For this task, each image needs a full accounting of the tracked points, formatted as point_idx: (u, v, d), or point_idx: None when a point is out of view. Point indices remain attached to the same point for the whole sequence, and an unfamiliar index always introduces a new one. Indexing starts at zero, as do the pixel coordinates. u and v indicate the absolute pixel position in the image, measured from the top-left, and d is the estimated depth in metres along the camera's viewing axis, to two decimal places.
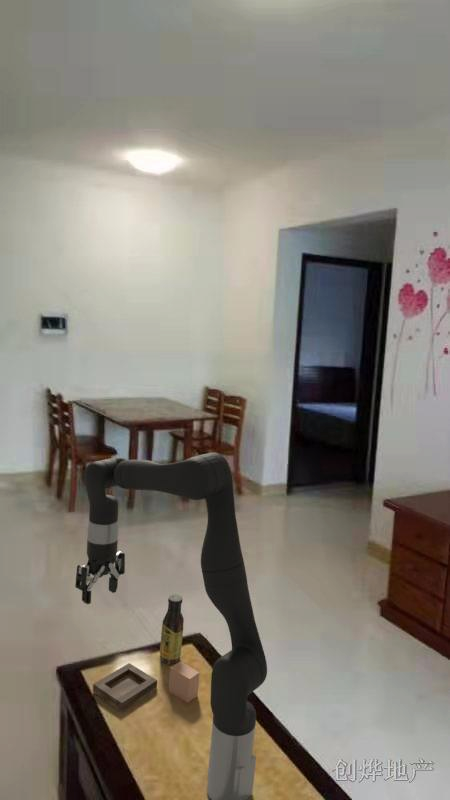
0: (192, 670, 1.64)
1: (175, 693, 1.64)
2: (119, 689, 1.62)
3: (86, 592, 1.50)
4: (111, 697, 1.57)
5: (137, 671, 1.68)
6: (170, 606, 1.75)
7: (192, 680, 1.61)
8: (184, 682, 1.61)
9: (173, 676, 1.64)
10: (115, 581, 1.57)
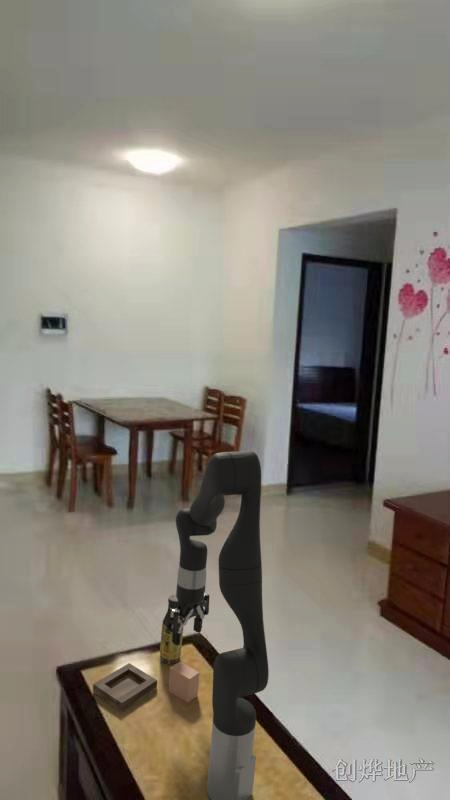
0: (192, 670, 1.64)
1: (175, 693, 1.64)
2: (119, 689, 1.62)
3: (176, 634, 1.57)
4: (111, 697, 1.57)
5: (137, 671, 1.68)
6: (170, 606, 1.75)
7: (192, 680, 1.61)
8: (184, 682, 1.61)
9: (173, 676, 1.64)
10: (200, 622, 1.64)
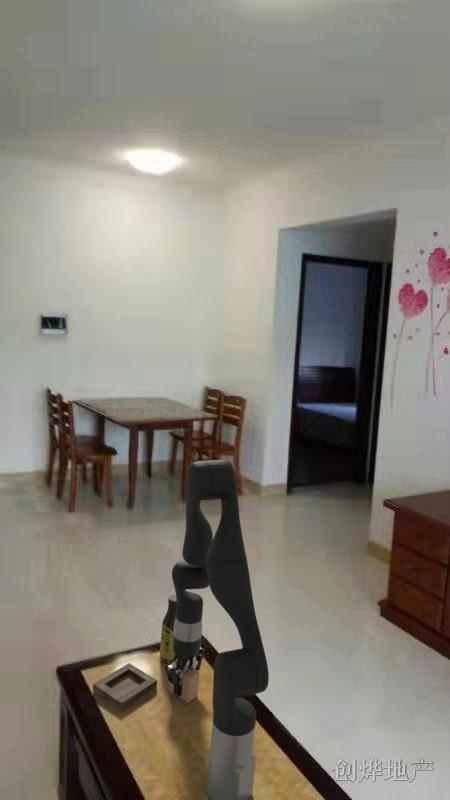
0: (192, 670, 1.64)
1: None
2: (119, 689, 1.62)
3: (178, 686, 1.61)
4: (111, 697, 1.57)
5: (137, 671, 1.68)
6: (170, 606, 1.75)
7: (192, 680, 1.61)
8: (184, 682, 1.61)
9: None
10: None
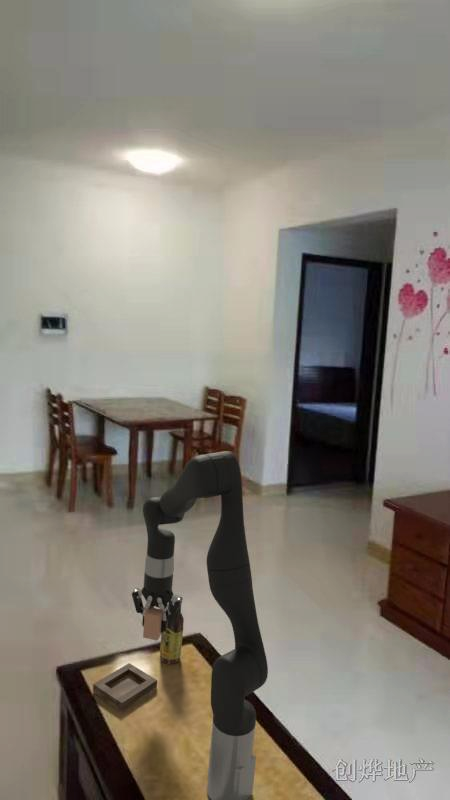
0: (159, 611, 1.60)
1: None
2: (119, 689, 1.62)
3: (143, 616, 1.62)
4: (111, 697, 1.57)
5: (137, 671, 1.68)
6: (170, 606, 1.75)
7: (148, 616, 1.58)
8: None
9: None
10: (161, 622, 1.60)
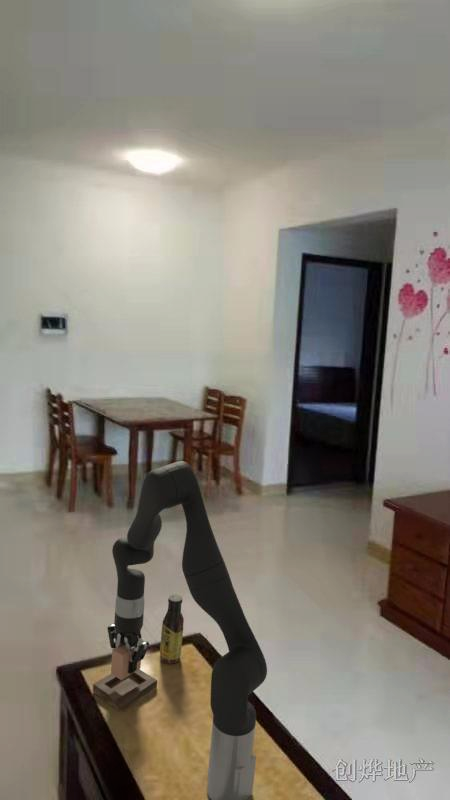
0: (126, 651, 1.60)
1: None
2: (119, 689, 1.62)
3: None
4: (111, 697, 1.57)
5: (137, 671, 1.68)
6: (170, 606, 1.75)
7: (114, 654, 1.60)
8: None
9: None
10: (129, 662, 1.60)
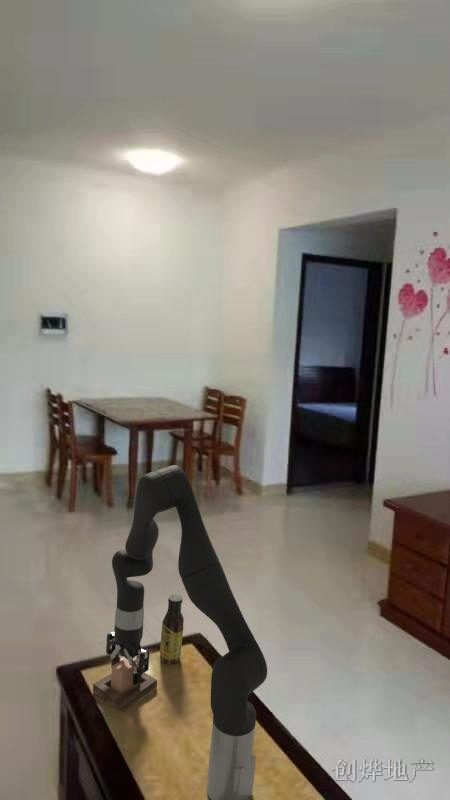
0: (126, 668, 1.60)
1: None
2: None
3: (112, 659, 1.65)
4: (111, 697, 1.57)
5: None
6: (170, 606, 1.75)
7: (114, 670, 1.60)
8: None
9: None
10: (133, 674, 1.60)
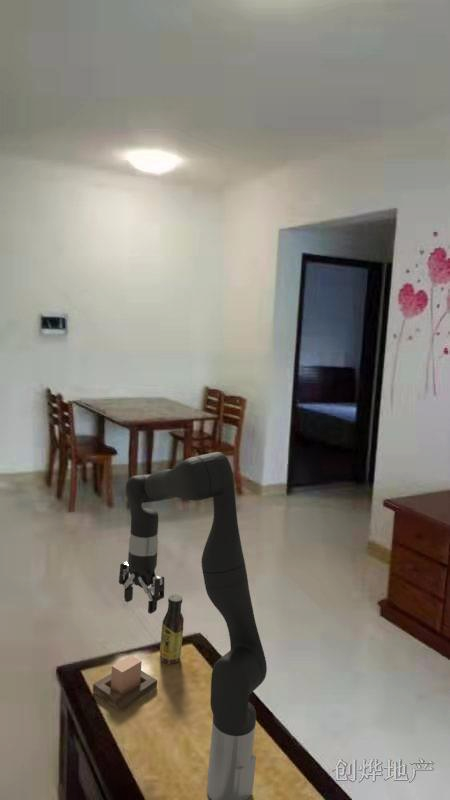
0: (126, 668, 1.60)
1: None
2: None
3: (125, 589, 1.63)
4: (111, 697, 1.57)
5: None
6: (170, 606, 1.75)
7: (114, 670, 1.60)
8: None
9: None
10: (149, 602, 1.57)
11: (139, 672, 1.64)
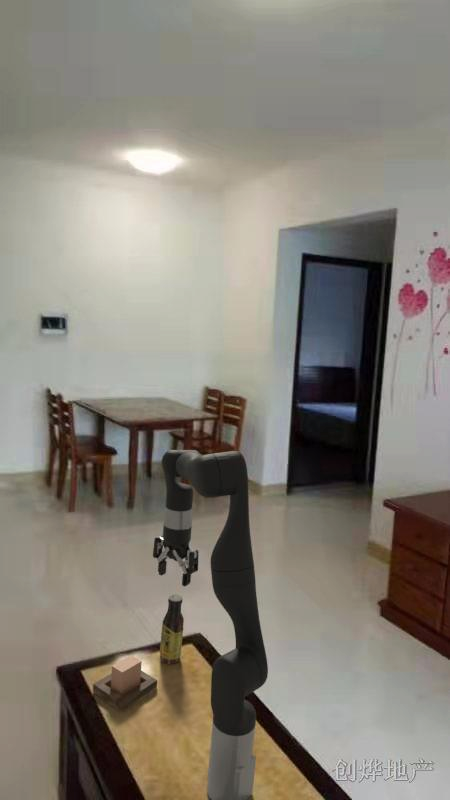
0: (126, 668, 1.60)
1: None
2: None
3: (159, 562, 1.66)
4: (111, 697, 1.57)
5: None
6: (170, 606, 1.75)
7: (114, 670, 1.60)
8: None
9: None
10: (183, 575, 1.61)
11: (139, 672, 1.64)
